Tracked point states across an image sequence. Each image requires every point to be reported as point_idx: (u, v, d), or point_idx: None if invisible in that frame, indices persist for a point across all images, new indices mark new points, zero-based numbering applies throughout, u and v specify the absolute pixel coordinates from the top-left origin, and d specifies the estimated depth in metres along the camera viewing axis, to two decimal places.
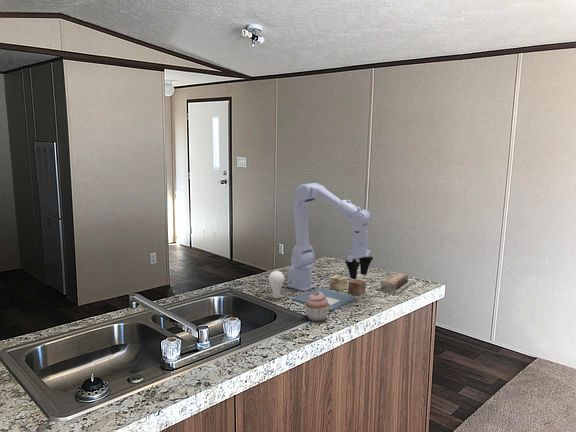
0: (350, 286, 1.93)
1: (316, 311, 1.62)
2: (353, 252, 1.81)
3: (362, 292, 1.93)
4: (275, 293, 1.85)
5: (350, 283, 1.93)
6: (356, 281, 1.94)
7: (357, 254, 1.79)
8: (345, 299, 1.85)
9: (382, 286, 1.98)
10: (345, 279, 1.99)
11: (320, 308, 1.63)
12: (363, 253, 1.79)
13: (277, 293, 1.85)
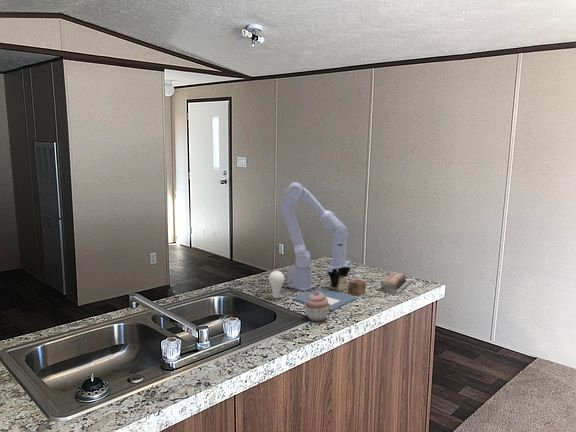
0: (350, 286, 1.93)
1: (316, 311, 1.62)
2: (333, 263, 1.97)
3: (362, 292, 1.93)
4: (275, 293, 1.85)
5: (350, 283, 1.93)
6: (356, 281, 1.94)
7: (337, 265, 1.96)
8: (345, 299, 1.85)
9: (382, 286, 1.97)
10: (345, 279, 1.99)
11: (320, 308, 1.63)
12: (342, 264, 1.96)
13: (277, 293, 1.85)
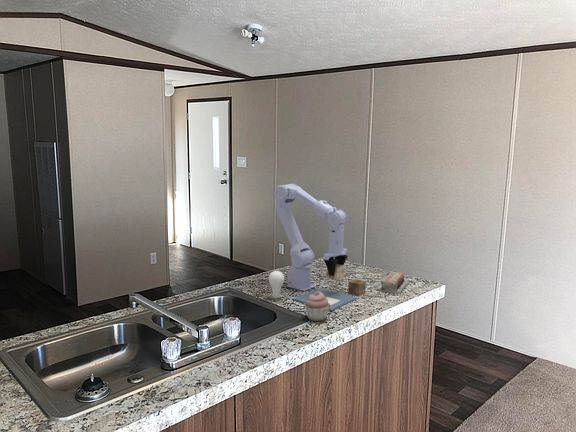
0: (350, 286, 1.93)
1: (316, 311, 1.62)
2: (330, 250, 1.88)
3: (362, 292, 1.93)
4: (275, 293, 1.85)
5: (350, 283, 1.93)
6: (356, 281, 1.94)
7: (333, 252, 1.87)
8: (345, 299, 1.85)
9: (383, 286, 1.97)
10: (342, 267, 1.90)
11: (320, 308, 1.63)
12: (339, 251, 1.87)
13: (277, 293, 1.85)
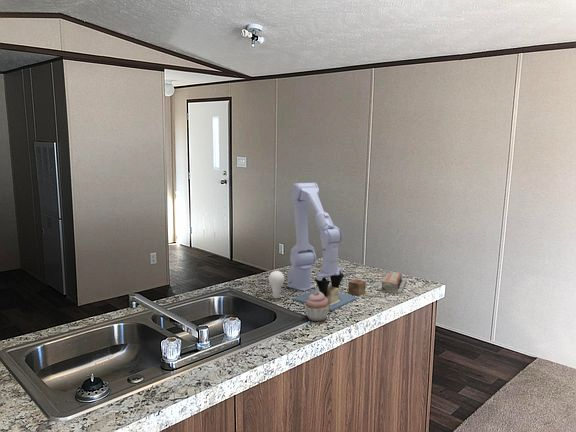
0: (350, 286, 1.93)
1: (316, 311, 1.62)
2: (323, 270, 1.80)
3: (362, 292, 1.93)
4: (275, 293, 1.85)
5: (350, 283, 1.93)
6: (356, 281, 1.94)
7: (327, 272, 1.78)
8: (345, 299, 1.85)
9: (384, 286, 1.97)
10: (337, 290, 1.82)
11: (320, 308, 1.63)
12: (333, 271, 1.78)
13: (277, 293, 1.85)
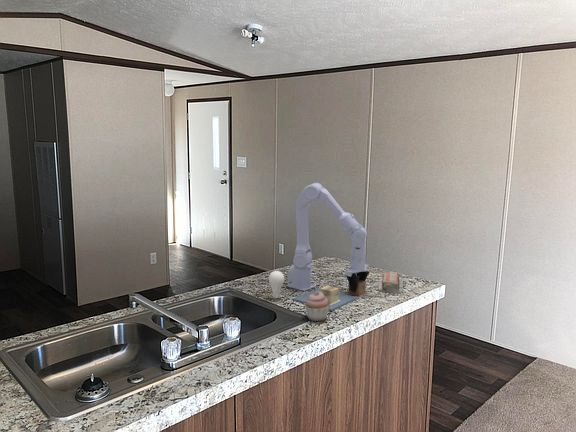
0: None
1: (316, 311, 1.62)
2: (352, 267, 1.92)
3: (362, 292, 1.93)
4: (275, 293, 1.85)
5: None
6: None
7: (355, 269, 1.90)
8: (345, 299, 1.85)
9: (385, 287, 1.97)
10: (337, 290, 1.82)
11: (320, 308, 1.63)
12: (361, 268, 1.90)
13: (277, 293, 1.85)
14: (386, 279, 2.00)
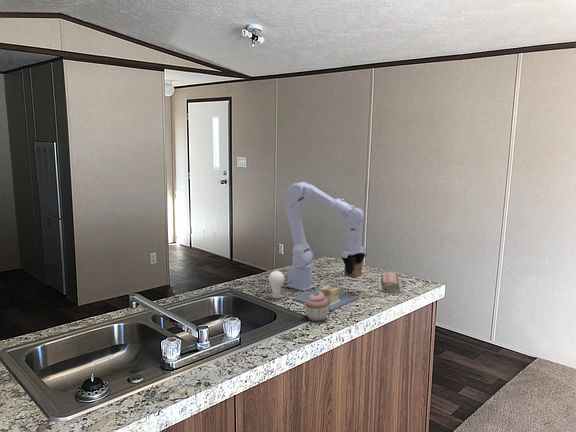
0: None
1: (316, 311, 1.62)
2: (348, 248, 1.88)
3: (358, 274, 1.90)
4: (275, 293, 1.85)
5: None
6: None
7: (351, 250, 1.87)
8: (345, 299, 1.85)
9: (385, 287, 1.96)
10: (337, 290, 1.82)
11: (320, 308, 1.63)
12: (357, 249, 1.87)
13: (277, 293, 1.85)
14: (386, 279, 2.00)
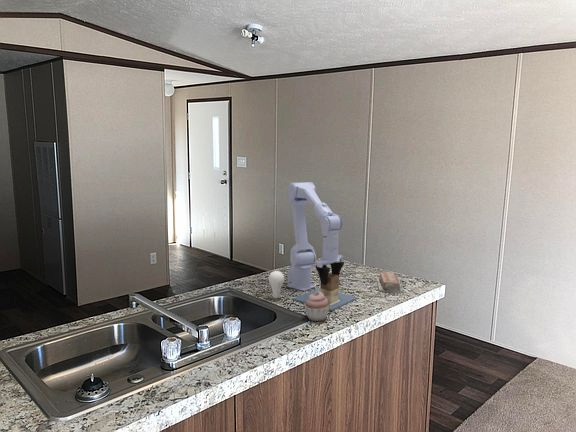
0: None
1: (316, 311, 1.62)
2: (323, 257, 1.79)
3: (335, 287, 1.80)
4: (275, 293, 1.85)
5: None
6: (329, 275, 1.81)
7: (327, 259, 1.77)
8: (345, 299, 1.85)
9: (386, 287, 1.96)
10: (337, 290, 1.82)
11: (320, 308, 1.63)
12: (333, 258, 1.77)
13: (277, 293, 1.85)
14: (386, 279, 2.00)
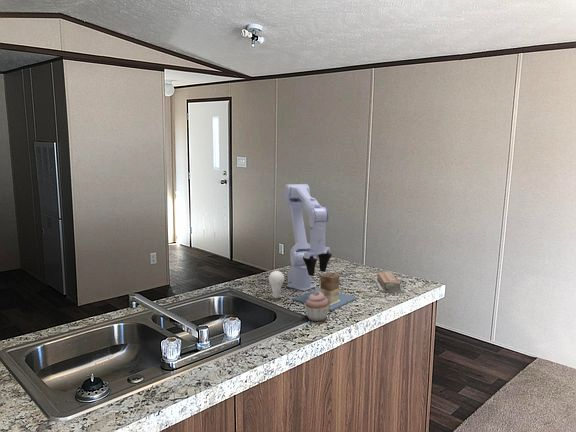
0: (322, 280, 1.80)
1: (316, 311, 1.62)
2: (311, 249, 1.82)
3: (335, 287, 1.80)
4: (275, 293, 1.85)
5: (322, 277, 1.80)
6: (329, 275, 1.81)
7: (315, 251, 1.81)
8: (345, 299, 1.85)
9: (387, 287, 1.96)
10: (337, 290, 1.82)
11: (320, 308, 1.63)
12: (320, 250, 1.81)
13: (277, 293, 1.85)
14: (386, 279, 2.00)
